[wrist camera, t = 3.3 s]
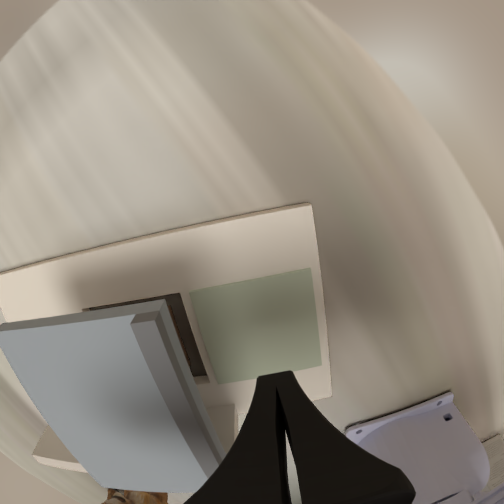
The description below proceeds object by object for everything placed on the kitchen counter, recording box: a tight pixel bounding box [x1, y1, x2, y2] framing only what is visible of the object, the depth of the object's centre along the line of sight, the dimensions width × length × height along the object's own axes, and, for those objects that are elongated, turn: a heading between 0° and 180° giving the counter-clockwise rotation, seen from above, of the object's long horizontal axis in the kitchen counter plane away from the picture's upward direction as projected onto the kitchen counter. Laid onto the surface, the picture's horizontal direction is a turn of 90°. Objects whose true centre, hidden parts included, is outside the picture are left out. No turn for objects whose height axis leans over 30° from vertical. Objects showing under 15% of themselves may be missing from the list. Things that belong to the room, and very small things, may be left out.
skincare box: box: [473, 434, 504, 499], centre depth 19 cm, size 6×4×12 cm
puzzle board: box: [0, 203, 332, 473], centre depth 14 cm, size 20×12×6 cm, turn 101°
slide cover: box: [0, 299, 226, 493], centre depth 11 cm, size 8×11×1 cm
